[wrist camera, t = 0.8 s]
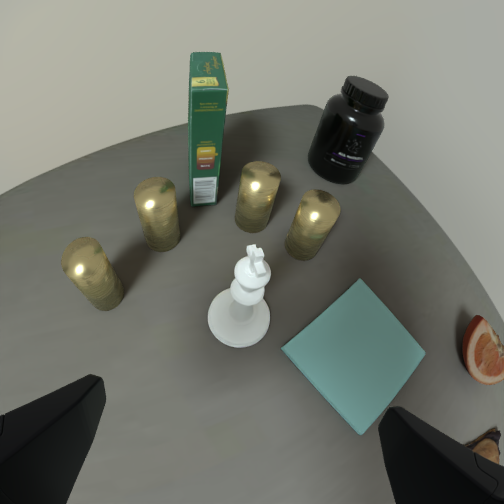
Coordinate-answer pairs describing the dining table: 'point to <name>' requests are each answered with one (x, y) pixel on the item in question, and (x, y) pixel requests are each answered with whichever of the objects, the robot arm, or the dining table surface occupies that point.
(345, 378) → the felt pad
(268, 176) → the cylinder
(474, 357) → the fruit slice
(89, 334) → the dining table surface
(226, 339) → the chess piece
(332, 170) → the supplement bottle
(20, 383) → the dining table surface
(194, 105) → the coffee box
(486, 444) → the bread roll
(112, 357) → the dining table surface
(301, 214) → the cylinder
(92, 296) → the cylinder
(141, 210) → the cylinder
